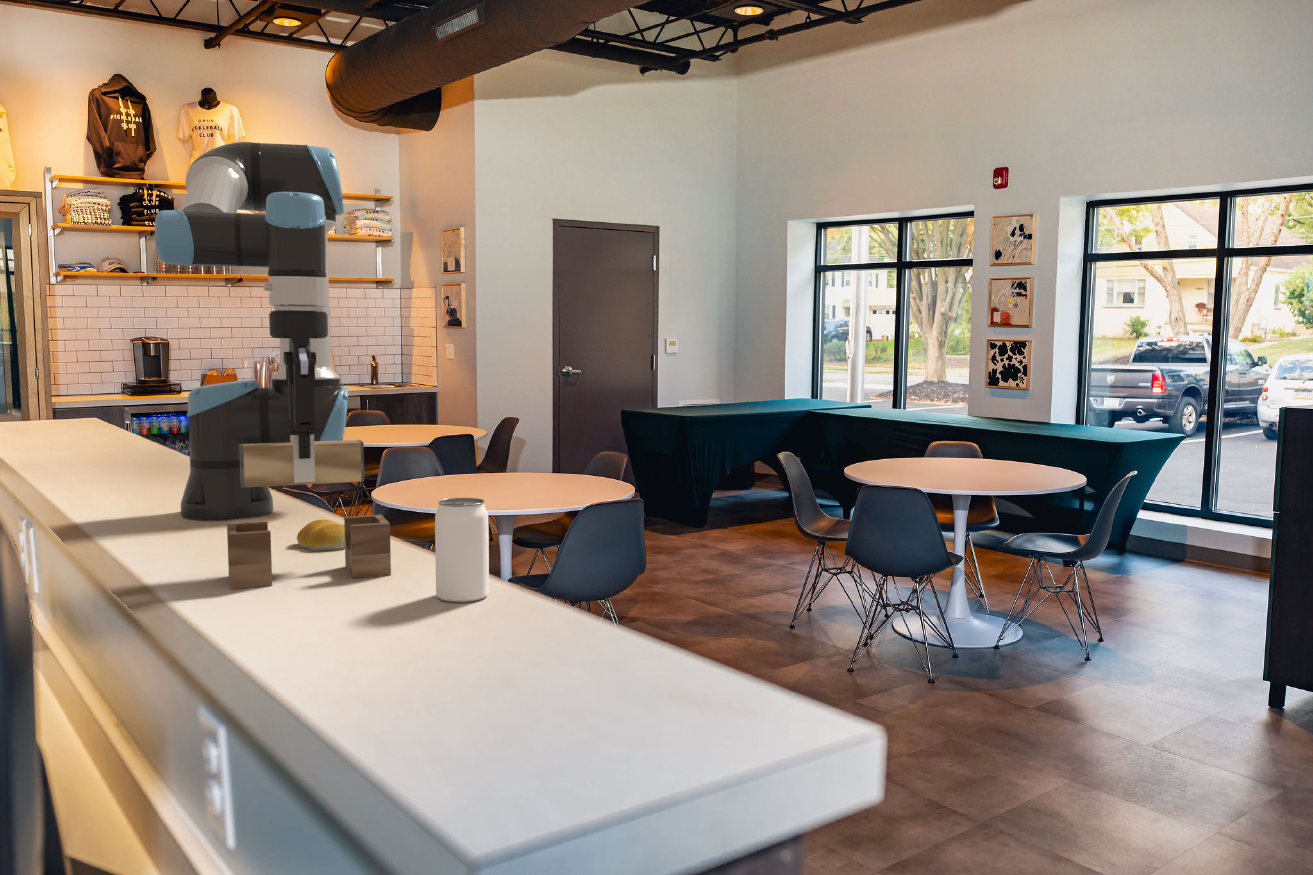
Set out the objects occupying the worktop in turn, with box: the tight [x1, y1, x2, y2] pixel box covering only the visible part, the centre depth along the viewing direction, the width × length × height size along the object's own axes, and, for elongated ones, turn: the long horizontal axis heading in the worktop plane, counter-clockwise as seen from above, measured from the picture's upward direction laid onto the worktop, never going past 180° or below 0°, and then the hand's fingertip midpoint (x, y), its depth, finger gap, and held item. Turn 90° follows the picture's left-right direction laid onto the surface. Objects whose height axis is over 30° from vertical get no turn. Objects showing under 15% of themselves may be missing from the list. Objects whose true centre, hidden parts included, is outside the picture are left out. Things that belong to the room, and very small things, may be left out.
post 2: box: [343, 513, 392, 579], centre depth 140 cm, size 7×5×7 cm
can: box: [434, 497, 490, 604], centre depth 126 cm, size 6×6×12 cm
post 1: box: [226, 521, 273, 590], centre depth 134 cm, size 7×5×7 cm
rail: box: [239, 439, 365, 488], centre depth 141 cm, size 3×16×6 cm, turn 114°
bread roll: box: [296, 519, 345, 552], centre depth 156 cm, size 8×9×4 cm
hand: (303, 479), depth 142 cm, fingers closed on rail, 3 cm apart
